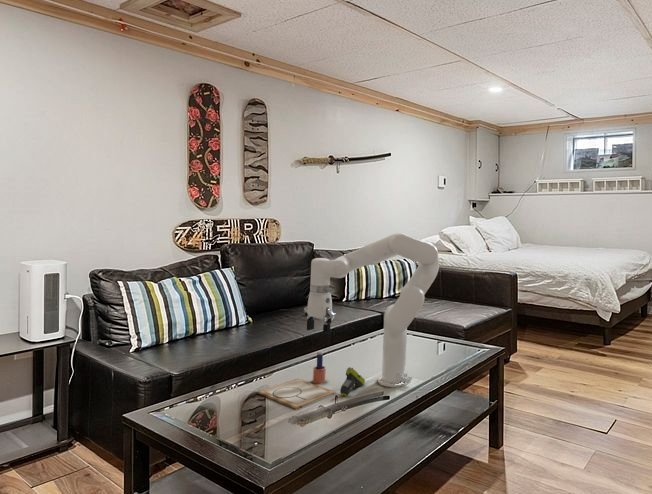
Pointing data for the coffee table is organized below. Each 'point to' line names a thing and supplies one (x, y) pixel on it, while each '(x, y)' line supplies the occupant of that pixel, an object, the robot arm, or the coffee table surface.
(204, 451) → the coffee table surface
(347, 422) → the coffee table surface
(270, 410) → the coffee table surface
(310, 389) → the drawing board
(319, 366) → the pen
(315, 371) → the pen pot
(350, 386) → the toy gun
